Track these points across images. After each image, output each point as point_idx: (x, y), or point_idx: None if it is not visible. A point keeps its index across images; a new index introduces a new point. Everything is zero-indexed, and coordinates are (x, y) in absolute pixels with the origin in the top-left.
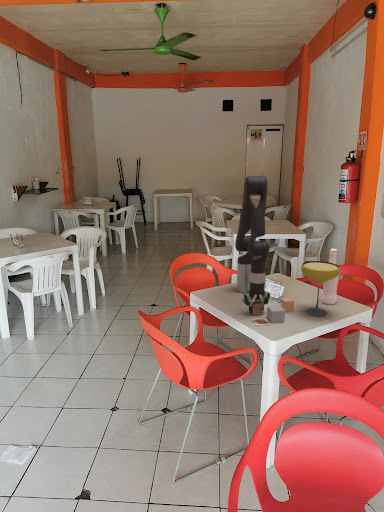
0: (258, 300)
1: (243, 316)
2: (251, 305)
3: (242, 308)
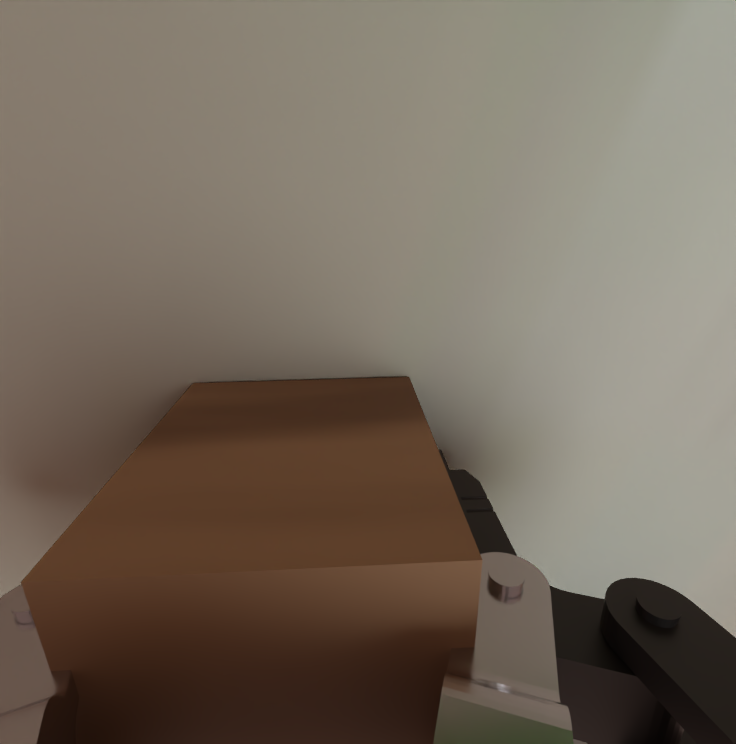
0: (419, 582)
1: (32, 568)
2: None
3: (30, 143)
